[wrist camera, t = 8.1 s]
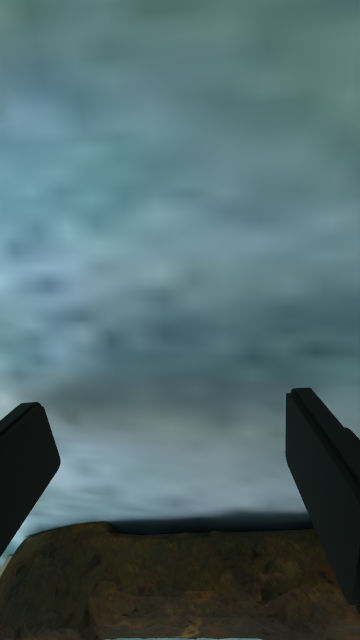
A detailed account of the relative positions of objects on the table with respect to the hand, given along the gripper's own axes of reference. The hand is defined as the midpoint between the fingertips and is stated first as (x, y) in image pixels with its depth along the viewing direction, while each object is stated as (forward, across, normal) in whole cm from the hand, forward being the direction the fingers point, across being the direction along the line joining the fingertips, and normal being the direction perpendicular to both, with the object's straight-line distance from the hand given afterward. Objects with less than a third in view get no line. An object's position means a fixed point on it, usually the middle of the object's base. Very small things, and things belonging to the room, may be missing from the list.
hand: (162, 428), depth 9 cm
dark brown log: (+2, +1, +10) cm, 10 cm away
